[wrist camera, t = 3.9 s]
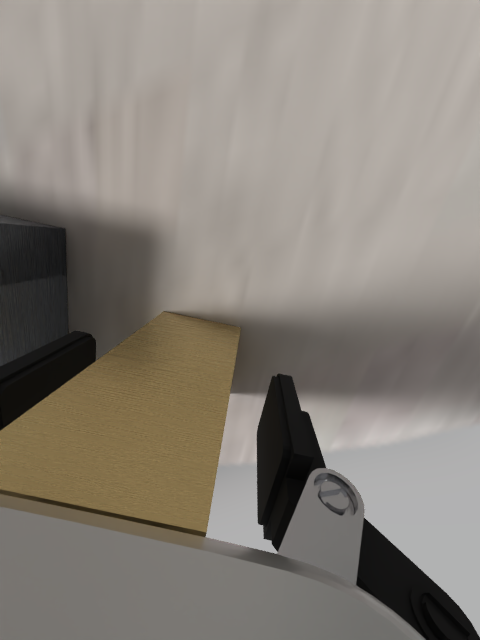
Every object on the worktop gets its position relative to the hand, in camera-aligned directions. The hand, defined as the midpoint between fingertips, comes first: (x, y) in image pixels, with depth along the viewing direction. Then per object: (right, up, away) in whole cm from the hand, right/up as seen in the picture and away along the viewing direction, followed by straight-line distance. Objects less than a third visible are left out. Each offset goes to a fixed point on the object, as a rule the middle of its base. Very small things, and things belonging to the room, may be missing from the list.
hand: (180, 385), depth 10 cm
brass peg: (0, +1, +3) cm, 3 cm away
